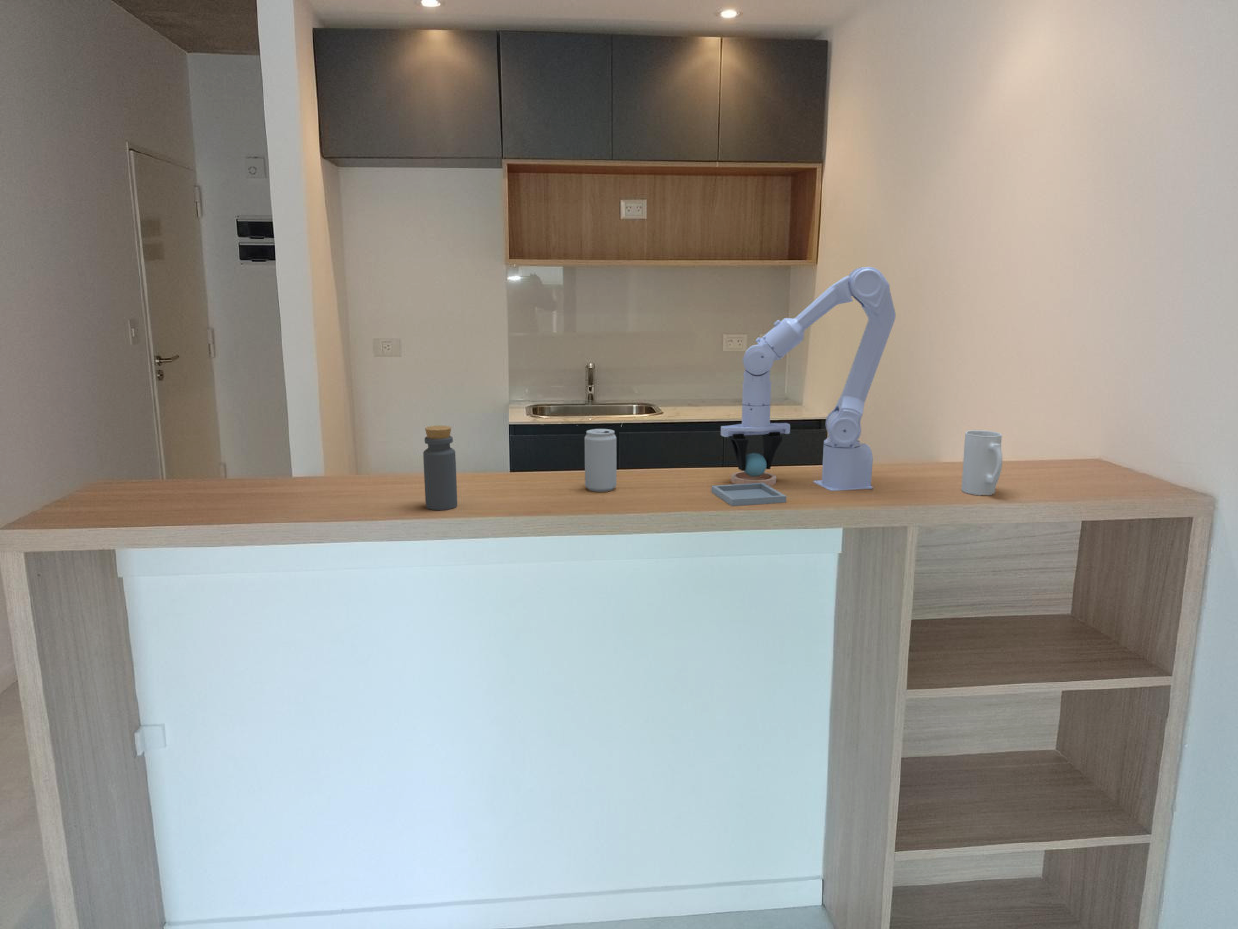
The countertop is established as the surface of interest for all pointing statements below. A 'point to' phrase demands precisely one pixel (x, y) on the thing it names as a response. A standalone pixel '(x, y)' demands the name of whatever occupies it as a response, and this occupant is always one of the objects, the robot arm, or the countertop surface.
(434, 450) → the bottle
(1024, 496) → the countertop surface
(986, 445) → the mug
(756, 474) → the ball
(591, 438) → the beverage can
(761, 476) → the dish
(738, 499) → the tray
